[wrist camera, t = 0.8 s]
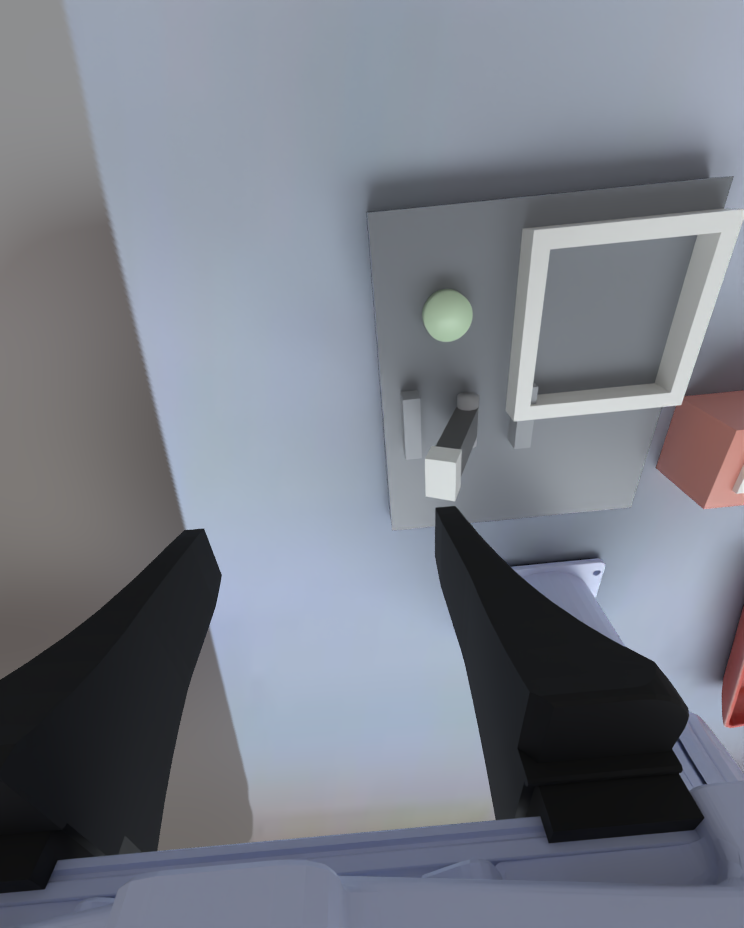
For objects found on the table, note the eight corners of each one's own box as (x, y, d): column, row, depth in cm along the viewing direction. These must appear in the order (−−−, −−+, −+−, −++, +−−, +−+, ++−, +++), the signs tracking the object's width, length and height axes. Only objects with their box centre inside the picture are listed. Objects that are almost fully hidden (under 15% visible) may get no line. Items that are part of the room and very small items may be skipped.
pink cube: (731, 459, 25) (797, 503, 21) (654, 467, 25) (707, 512, 21) (762, 387, 22) (843, 423, 19) (677, 395, 22) (742, 433, 19)
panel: (619, 495, 25) (643, 520, 23) (390, 517, 25) (394, 544, 23) (710, 177, 17) (760, 174, 15) (366, 212, 17) (368, 213, 15)
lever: (480, 441, 21) (454, 509, 17) (456, 438, 22) (425, 504, 17) (483, 392, 20) (456, 453, 15) (457, 391, 20) (424, 449, 16)
